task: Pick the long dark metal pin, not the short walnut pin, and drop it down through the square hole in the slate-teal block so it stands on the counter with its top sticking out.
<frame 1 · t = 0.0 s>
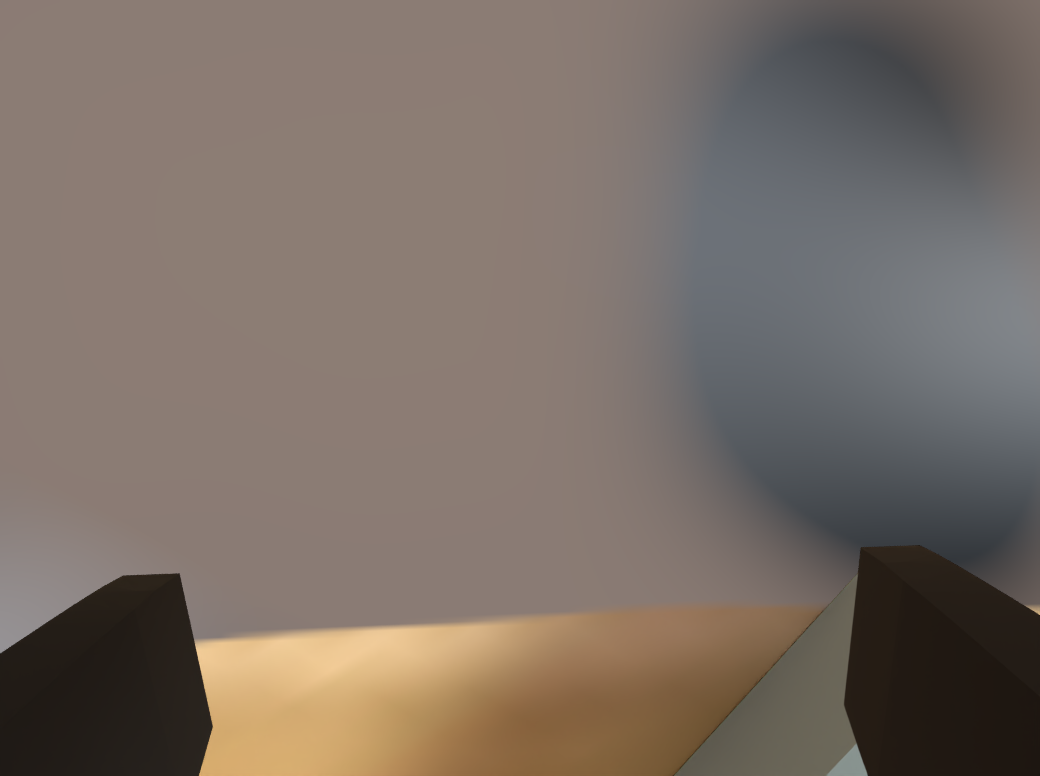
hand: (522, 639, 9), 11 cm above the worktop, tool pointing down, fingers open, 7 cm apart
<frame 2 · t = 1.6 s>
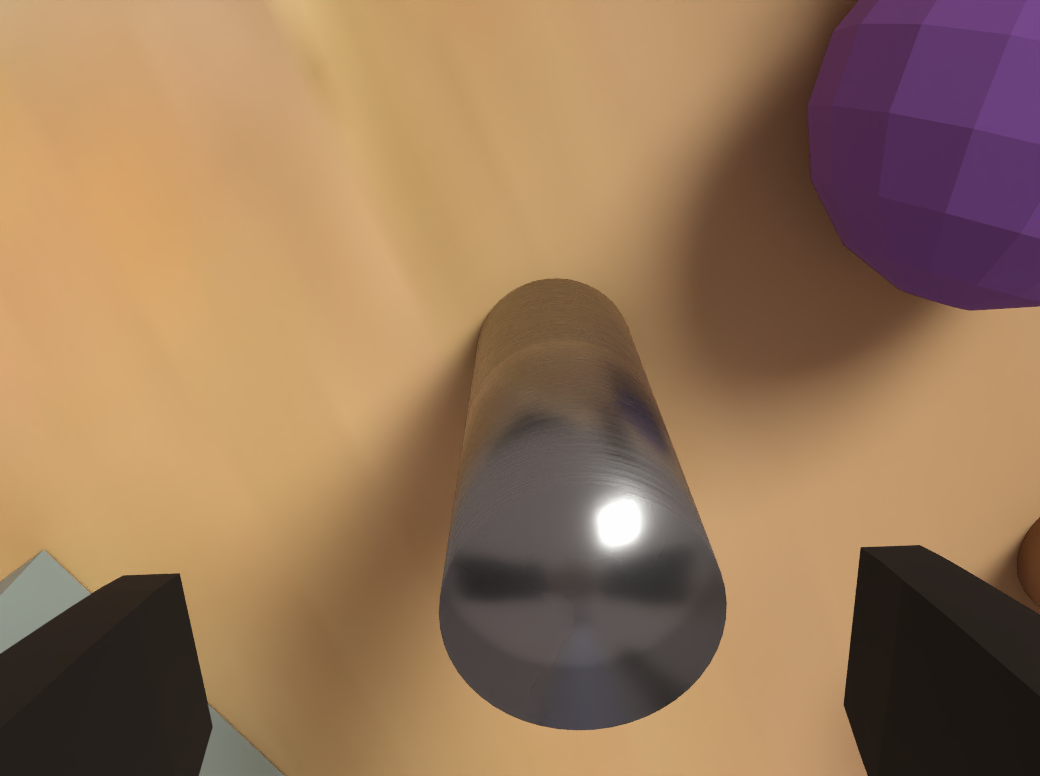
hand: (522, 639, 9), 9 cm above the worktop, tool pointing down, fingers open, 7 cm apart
long pin: (554, 354, 18), on the worktop
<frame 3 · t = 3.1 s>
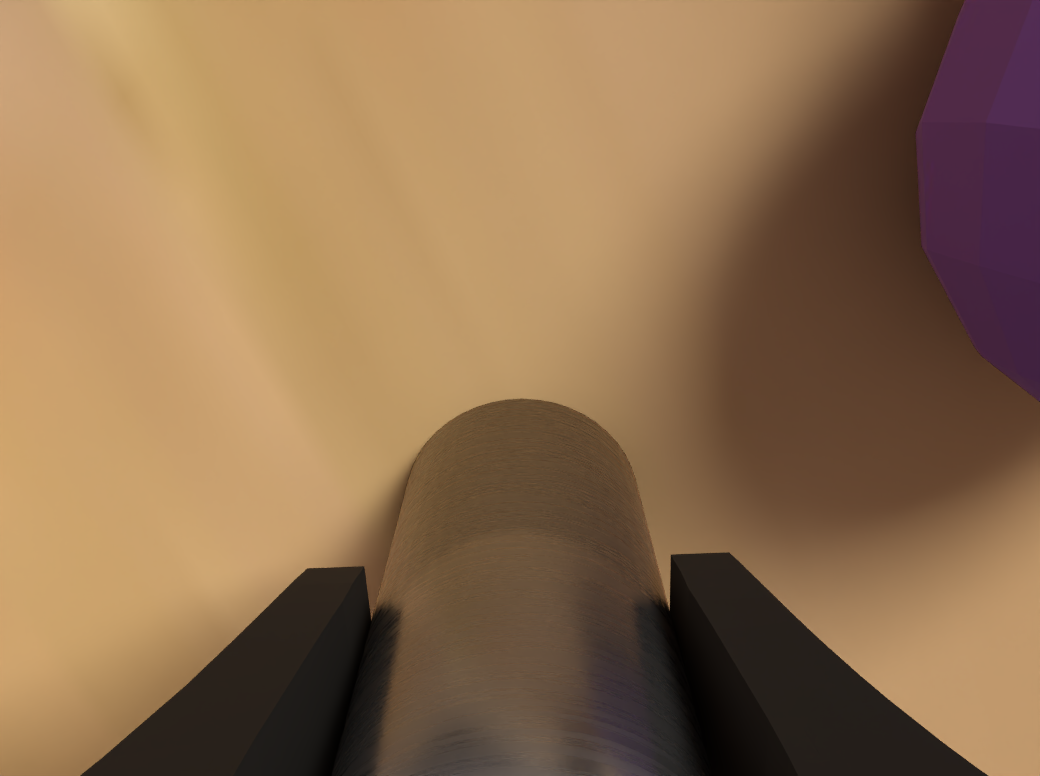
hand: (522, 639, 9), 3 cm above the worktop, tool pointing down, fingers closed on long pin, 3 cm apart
long pin: (521, 506, 12), on the worktop, touching gripper
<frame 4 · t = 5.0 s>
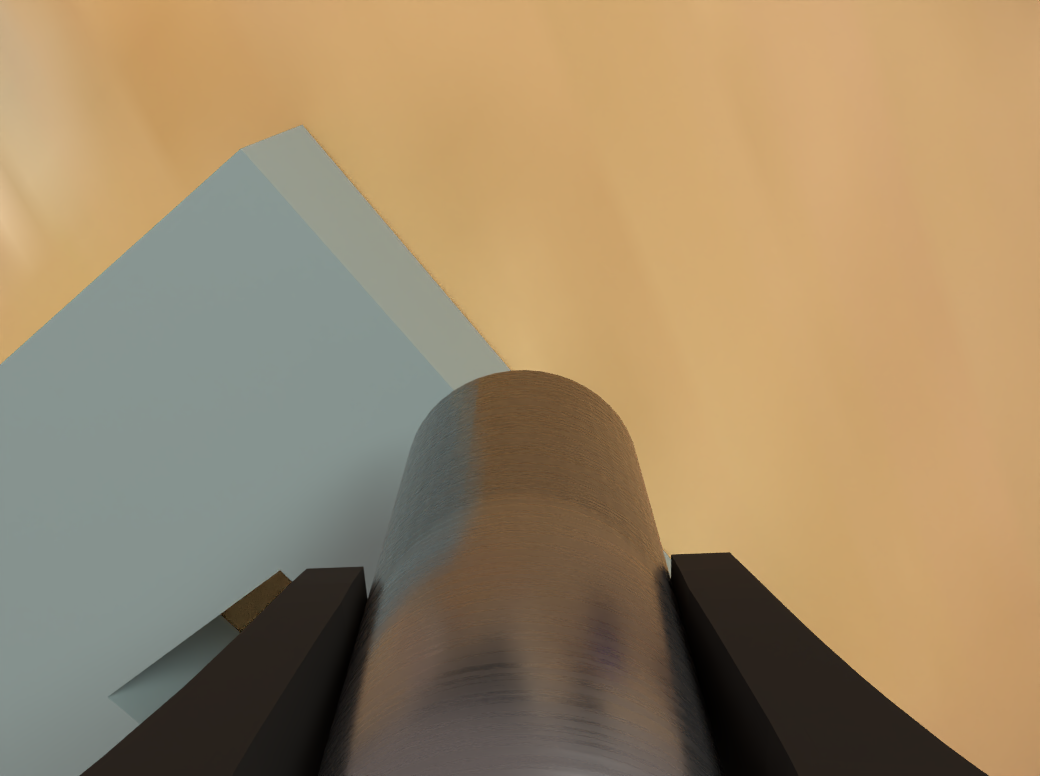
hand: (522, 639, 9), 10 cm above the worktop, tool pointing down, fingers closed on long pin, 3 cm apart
long pin: (522, 479, 12), point 7 cm above the worktop, touching gripper
hole block: (320, 592, 21), on the worktop
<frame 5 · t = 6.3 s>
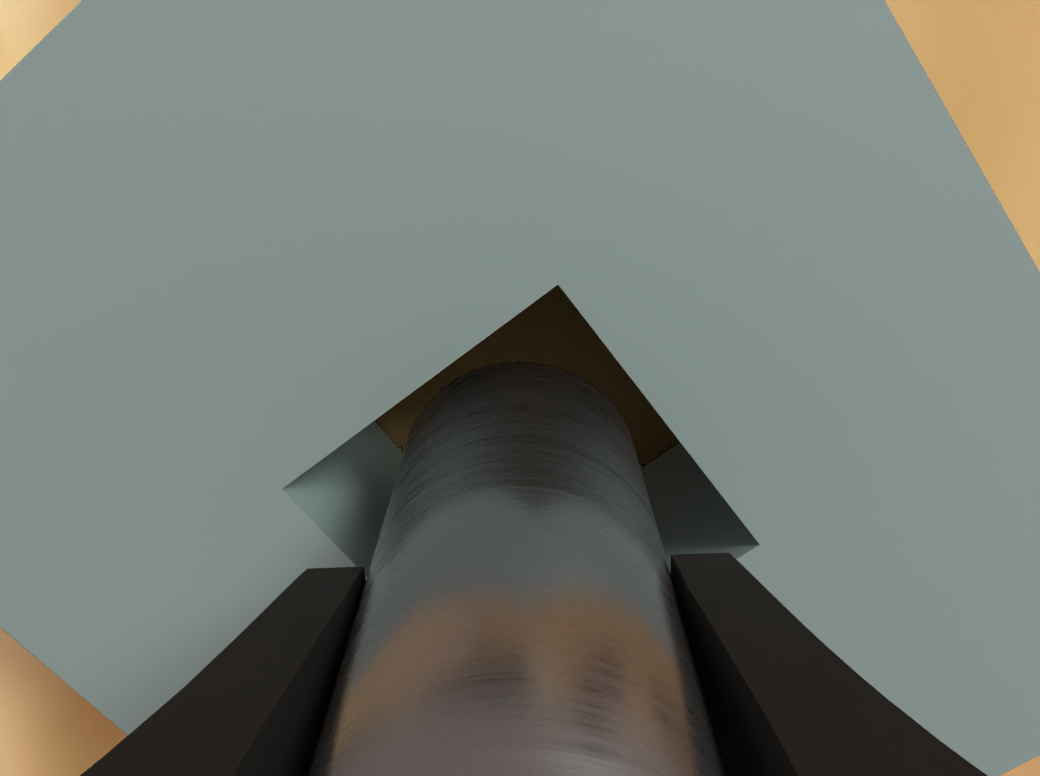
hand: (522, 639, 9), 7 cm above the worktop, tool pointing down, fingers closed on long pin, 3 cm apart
long pin: (520, 471, 12), point 4 cm above the worktop, touching gripper
hole block: (523, 404, 16), on the worktop
when the fingers open (5 cm above the worktop, at t = 7.0 s): long pin drops 2 cm, resting in hole block.
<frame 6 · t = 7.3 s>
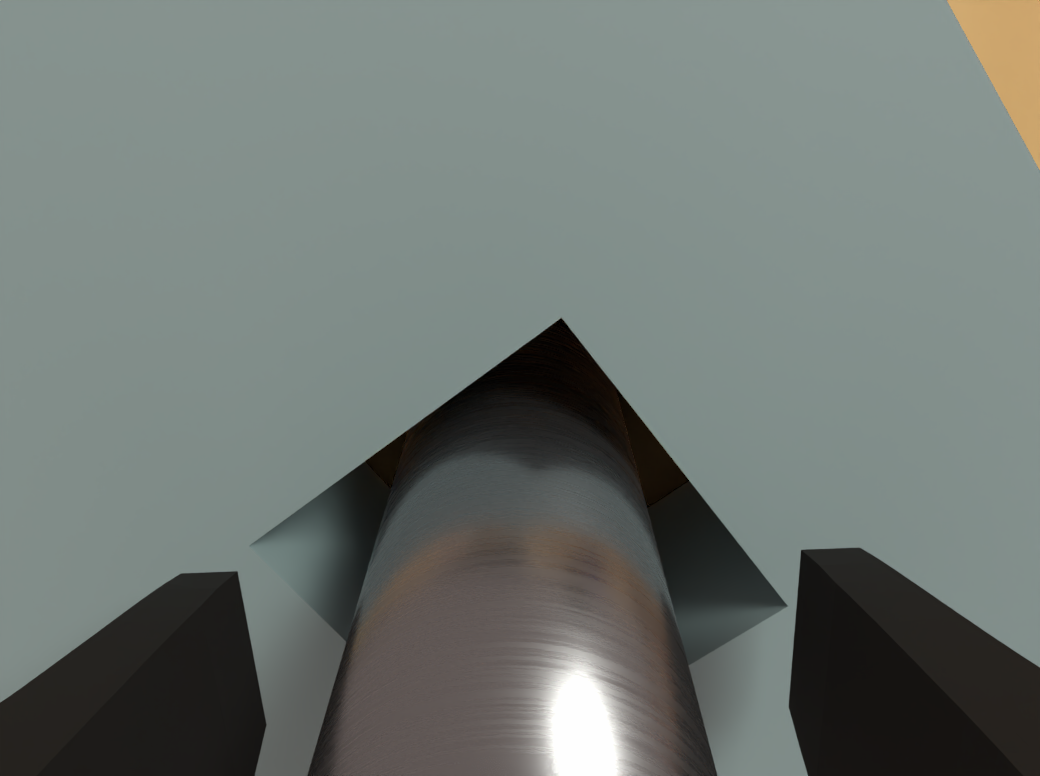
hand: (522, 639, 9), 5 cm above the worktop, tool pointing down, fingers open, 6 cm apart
long pin: (518, 411, 14), resting in hole block
hole block: (522, 437, 14), on the worktop
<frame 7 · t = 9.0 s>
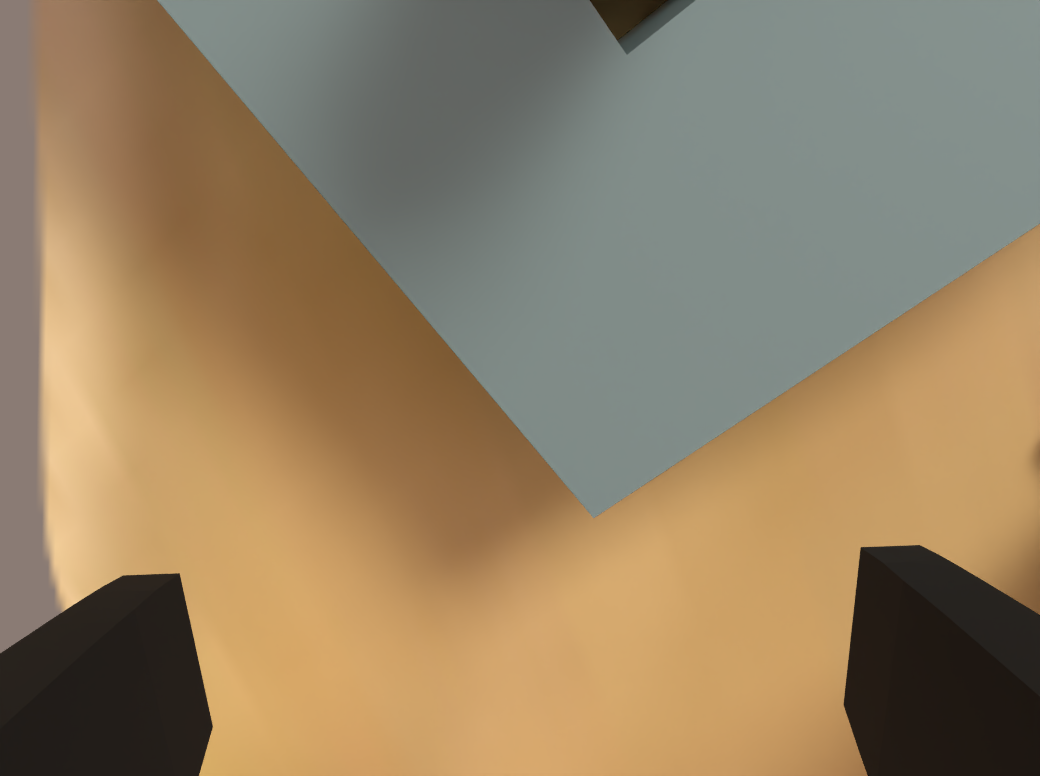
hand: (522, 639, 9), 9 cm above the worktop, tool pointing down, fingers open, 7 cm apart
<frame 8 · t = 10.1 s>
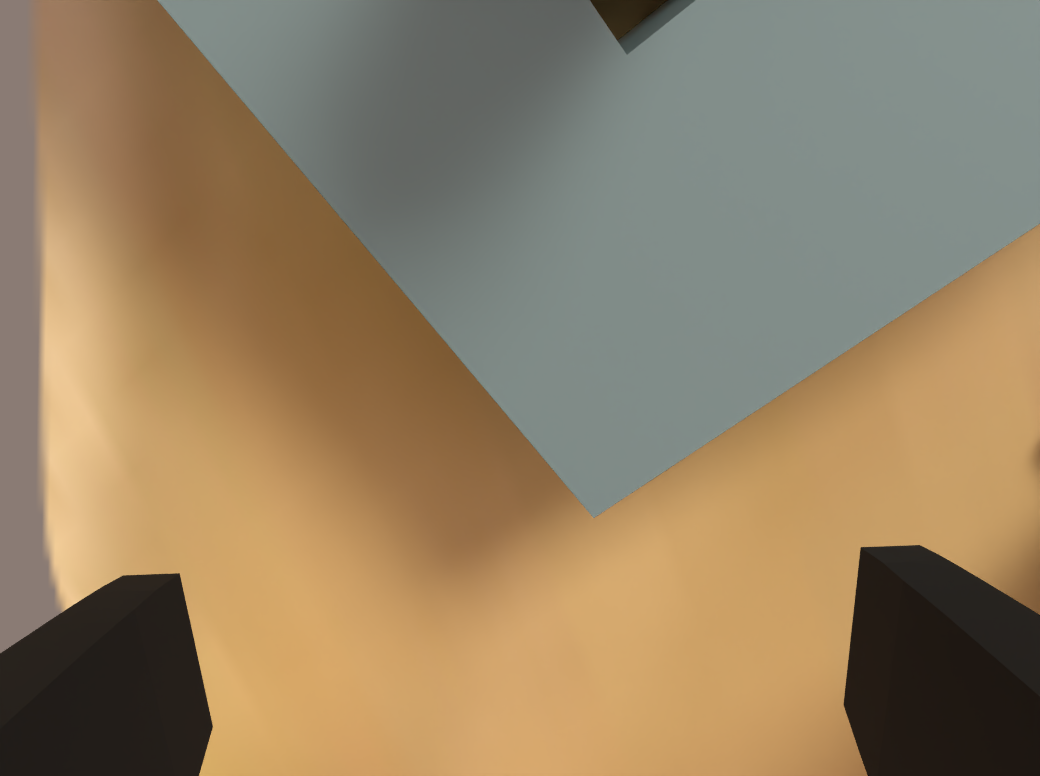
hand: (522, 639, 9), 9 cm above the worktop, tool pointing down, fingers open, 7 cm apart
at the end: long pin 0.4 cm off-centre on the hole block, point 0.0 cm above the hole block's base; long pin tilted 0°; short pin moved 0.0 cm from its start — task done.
